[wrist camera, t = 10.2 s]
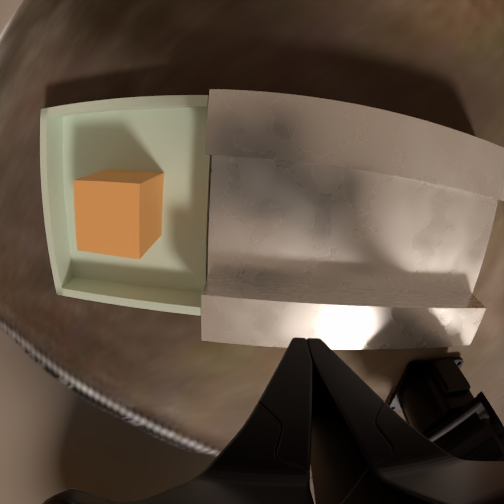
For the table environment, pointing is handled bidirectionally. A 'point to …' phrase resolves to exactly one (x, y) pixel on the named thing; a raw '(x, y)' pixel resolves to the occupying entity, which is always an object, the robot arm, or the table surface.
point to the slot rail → (343, 224)
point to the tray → (135, 159)
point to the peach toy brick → (118, 212)
